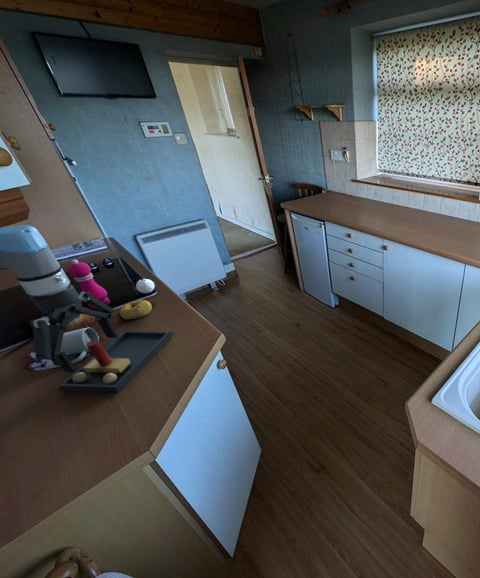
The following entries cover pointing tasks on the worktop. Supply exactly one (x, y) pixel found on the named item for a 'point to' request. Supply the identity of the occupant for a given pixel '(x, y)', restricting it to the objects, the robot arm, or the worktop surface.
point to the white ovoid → (145, 285)
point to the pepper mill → (87, 281)
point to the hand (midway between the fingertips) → (93, 353)
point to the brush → (104, 361)
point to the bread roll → (79, 323)
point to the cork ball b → (109, 378)
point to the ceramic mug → (78, 342)
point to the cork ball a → (79, 377)
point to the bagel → (135, 309)
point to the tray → (126, 345)
